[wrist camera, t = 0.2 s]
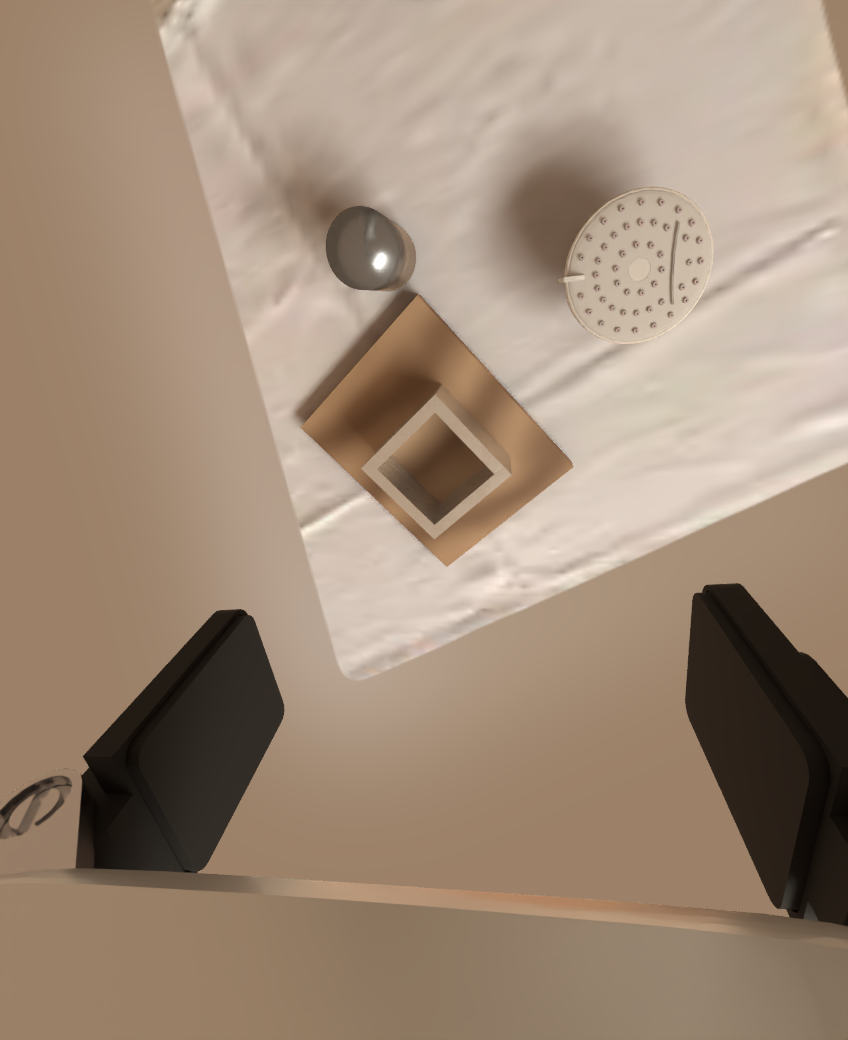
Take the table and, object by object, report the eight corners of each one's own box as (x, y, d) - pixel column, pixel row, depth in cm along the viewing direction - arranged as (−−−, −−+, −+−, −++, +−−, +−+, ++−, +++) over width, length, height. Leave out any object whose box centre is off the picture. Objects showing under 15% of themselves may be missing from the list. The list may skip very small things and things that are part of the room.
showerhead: (557, 199, 31) (729, 170, 29) (547, 216, 37) (687, 193, 36) (559, 353, 35) (711, 336, 33) (549, 344, 41) (676, 329, 39)
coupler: (345, 258, 41) (311, 250, 34) (384, 207, 39) (358, 187, 32) (387, 304, 42) (364, 305, 35) (428, 257, 40) (412, 248, 33)
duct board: (306, 423, 47) (279, 441, 41) (419, 295, 41) (406, 294, 35) (448, 559, 51) (441, 593, 45) (571, 461, 45) (581, 486, 39)
